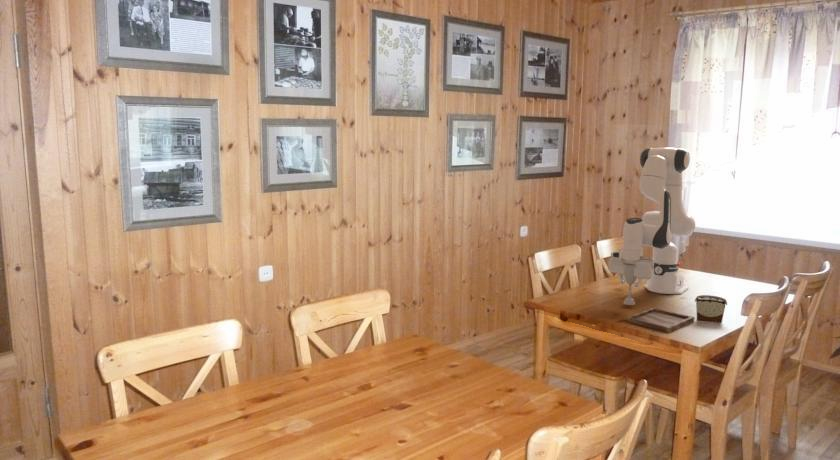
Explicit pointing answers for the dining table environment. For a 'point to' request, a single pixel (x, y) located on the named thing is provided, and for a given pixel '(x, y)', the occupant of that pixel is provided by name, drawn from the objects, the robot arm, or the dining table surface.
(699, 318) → the food container
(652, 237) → the robot arm
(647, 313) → the serving tray
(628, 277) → the chalice
